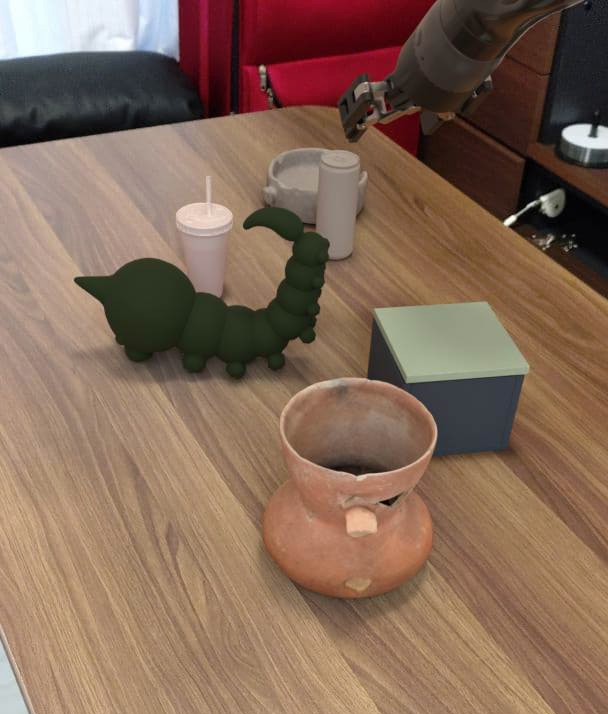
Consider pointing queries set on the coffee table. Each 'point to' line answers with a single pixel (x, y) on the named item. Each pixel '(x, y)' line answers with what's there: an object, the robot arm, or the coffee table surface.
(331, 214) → the beverage can
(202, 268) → the smoothie
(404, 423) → the ceramic jug
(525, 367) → the lid
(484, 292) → the coffee table surface
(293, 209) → the dish
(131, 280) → the toy figurine
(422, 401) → the box
